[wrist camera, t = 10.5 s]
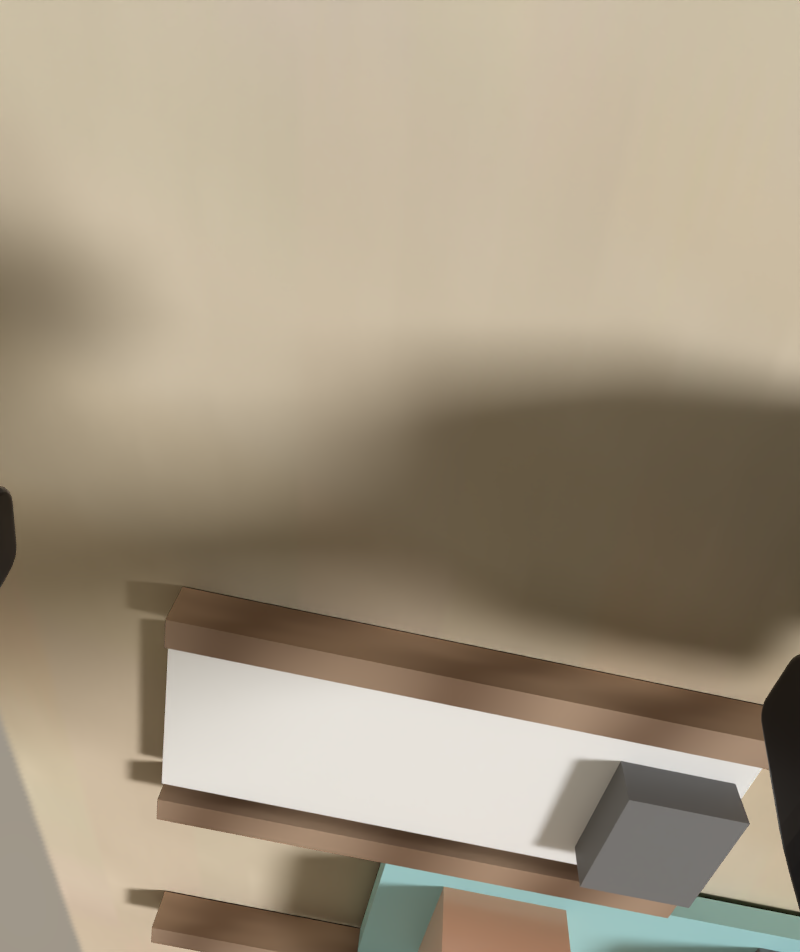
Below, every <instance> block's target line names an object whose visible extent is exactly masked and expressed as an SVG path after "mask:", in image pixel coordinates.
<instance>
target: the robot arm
mask: <svg viewBox="0 0 800 952" xmlns="http://www.w3.org/2000/svg"><path fill="white" fill-rule="evenodd" d="M15 555H16V535H15V524H14V512H13V501H12V497H11V494H10V492H9V491H8V490H7V489H6V488H4V487H2V486H0V587H1V585H2V584H3V582H4V580H5V578H6V577H7V575H8V573H9V571H10V569H11V567H12V565H13V562H14V559H15ZM761 723H762V730H763V736H764V742H765V747H766V753H767V759H768V765H769V771H770V777H771V783H772V789H773V795H774V800H775V806H776V812H777V818H778V824H779V830H780V834H781V839H782V844H783V849H784V853H785V857H786V861H787V865H788V869H789V873H790V877H791V880H792V884H793V888H794V891H795V895H796V898H797V902H798V906H799V909H800V654H799V655H797V656H795V657H794V658H793V659H792V660H791V661H790V662H789V664H788V665H787V667H786V668H785V670H784V672H783V673H782V675H781V676H780V678H779V679H778V681H777V682H776V684H775V685H774V687H773V688H772V690H771V692H770V693H769V695H768V696H767V698H766V699H765V701H764V704H763V707H762V712H761Z"/></svg>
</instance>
